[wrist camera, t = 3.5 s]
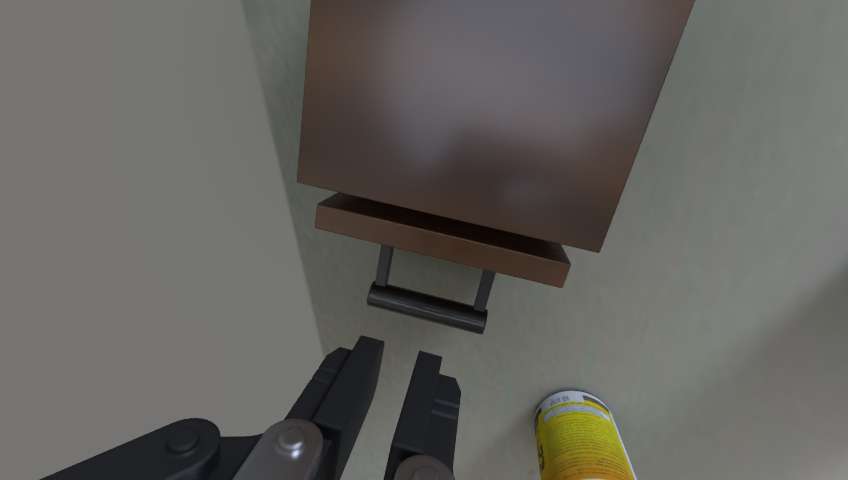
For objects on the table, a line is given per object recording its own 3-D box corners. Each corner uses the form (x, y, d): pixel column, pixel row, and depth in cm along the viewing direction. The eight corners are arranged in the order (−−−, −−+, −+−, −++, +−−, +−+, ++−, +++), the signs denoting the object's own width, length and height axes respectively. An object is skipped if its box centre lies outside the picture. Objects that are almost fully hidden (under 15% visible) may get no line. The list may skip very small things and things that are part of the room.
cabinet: (560, 199, 24) (599, 253, 15) (365, 155, 25) (296, 182, 16) (652, -86, 19) (792, -254, 10) (404, -124, 20) (334, -306, 11)
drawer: (520, 302, 26) (530, 379, 19) (355, 261, 27) (305, 319, 20) (620, -17, 20) (697, -89, 12) (400, -54, 21) (350, -142, 13)
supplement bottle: (521, 398, 29) (535, 539, 20) (596, 377, 28) (650, 520, 18) (548, 453, 31) (574, 612, 21) (622, 437, 29) (685, 600, 19)
